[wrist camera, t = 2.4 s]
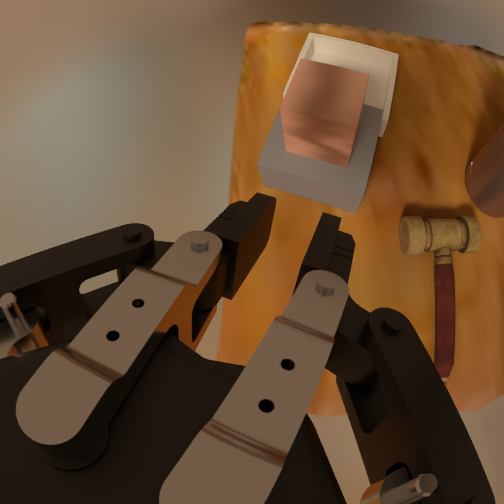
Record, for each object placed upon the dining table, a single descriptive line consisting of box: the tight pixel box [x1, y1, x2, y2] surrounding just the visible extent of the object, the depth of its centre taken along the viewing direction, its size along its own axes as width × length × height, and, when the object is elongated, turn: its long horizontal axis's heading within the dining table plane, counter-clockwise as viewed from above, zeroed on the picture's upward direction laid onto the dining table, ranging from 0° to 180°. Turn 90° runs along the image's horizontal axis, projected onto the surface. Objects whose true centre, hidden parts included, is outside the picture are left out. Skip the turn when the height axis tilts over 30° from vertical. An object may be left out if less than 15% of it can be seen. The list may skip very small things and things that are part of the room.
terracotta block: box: [280, 59, 369, 168], centre depth 31 cm, size 7×7×8 cm
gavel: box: [399, 216, 482, 386], centre depth 33 cm, size 21×5×10 cm
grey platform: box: [257, 104, 383, 213], centre depth 37 cm, size 12×12×6 cm
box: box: [283, 33, 399, 137], centre depth 40 cm, size 14×14×4 cm
